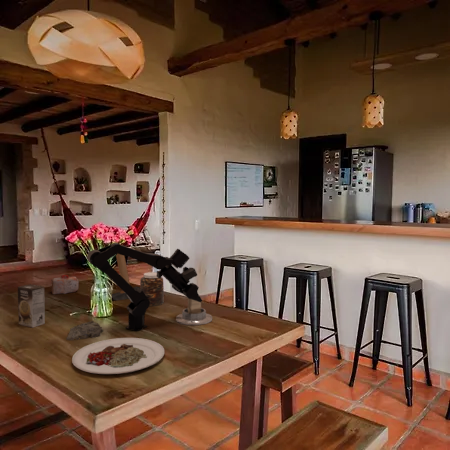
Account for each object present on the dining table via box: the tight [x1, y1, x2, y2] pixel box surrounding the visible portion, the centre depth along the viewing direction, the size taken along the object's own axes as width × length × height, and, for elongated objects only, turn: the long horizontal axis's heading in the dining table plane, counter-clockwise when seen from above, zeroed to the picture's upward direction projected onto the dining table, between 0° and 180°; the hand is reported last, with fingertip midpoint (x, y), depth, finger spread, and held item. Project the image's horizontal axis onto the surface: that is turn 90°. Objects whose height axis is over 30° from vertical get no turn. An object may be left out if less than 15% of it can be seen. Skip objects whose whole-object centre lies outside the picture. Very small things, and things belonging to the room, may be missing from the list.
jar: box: [139, 271, 165, 307], centre depth 206 cm, size 12×12×15 cm
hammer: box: [111, 254, 140, 301], centre depth 214 cm, size 20×5×30 cm, turn 121°
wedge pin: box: [187, 298, 202, 313], centre depth 179 cm, size 4×4×9 cm
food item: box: [51, 274, 79, 295], centre depth 227 cm, size 14×8×10 cm, turn 121°
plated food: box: [71, 337, 165, 375], centre depth 137 cm, size 30×30×3 cm
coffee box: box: [17, 283, 46, 328], centre depth 171 cm, size 9×6×16 cm
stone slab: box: [65, 320, 104, 341], centre depth 162 cm, size 13×17×3 cm
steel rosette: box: [175, 307, 213, 326], centre depth 179 cm, size 16×16×4 cm
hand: (197, 298), depth 179 cm, fingers open, 9 cm apart
